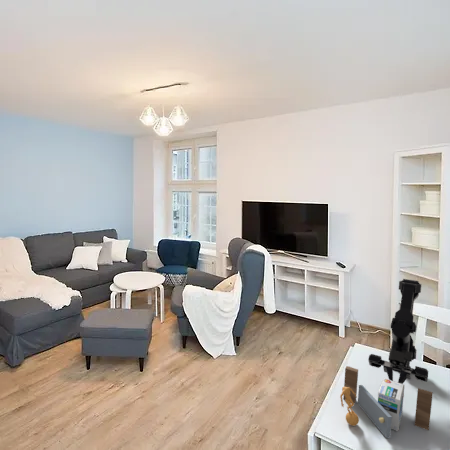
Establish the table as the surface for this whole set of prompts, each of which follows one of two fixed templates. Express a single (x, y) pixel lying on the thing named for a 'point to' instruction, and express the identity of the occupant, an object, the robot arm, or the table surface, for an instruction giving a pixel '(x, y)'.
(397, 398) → the light bulb box
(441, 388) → the table surface
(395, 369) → the robot arm
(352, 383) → the wooden fence posts
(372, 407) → the gate
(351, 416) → the figurine
